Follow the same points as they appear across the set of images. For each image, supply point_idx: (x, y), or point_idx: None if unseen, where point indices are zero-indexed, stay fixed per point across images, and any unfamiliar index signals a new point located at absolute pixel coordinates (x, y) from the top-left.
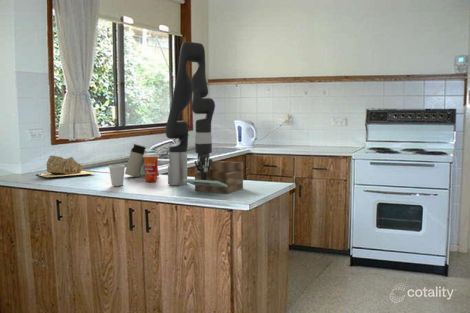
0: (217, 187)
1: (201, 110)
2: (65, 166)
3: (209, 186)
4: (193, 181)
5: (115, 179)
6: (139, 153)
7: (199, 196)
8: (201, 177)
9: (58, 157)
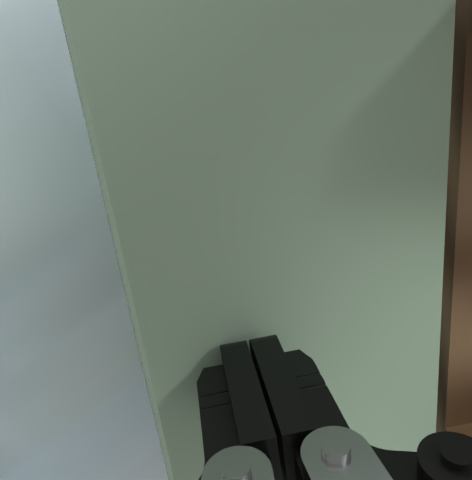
0: (441, 329)
1: None
2: None
3: (449, 229)
4: (116, 251)
5: None
6: None
7: (107, 298)
8: (201, 403)
9: None
